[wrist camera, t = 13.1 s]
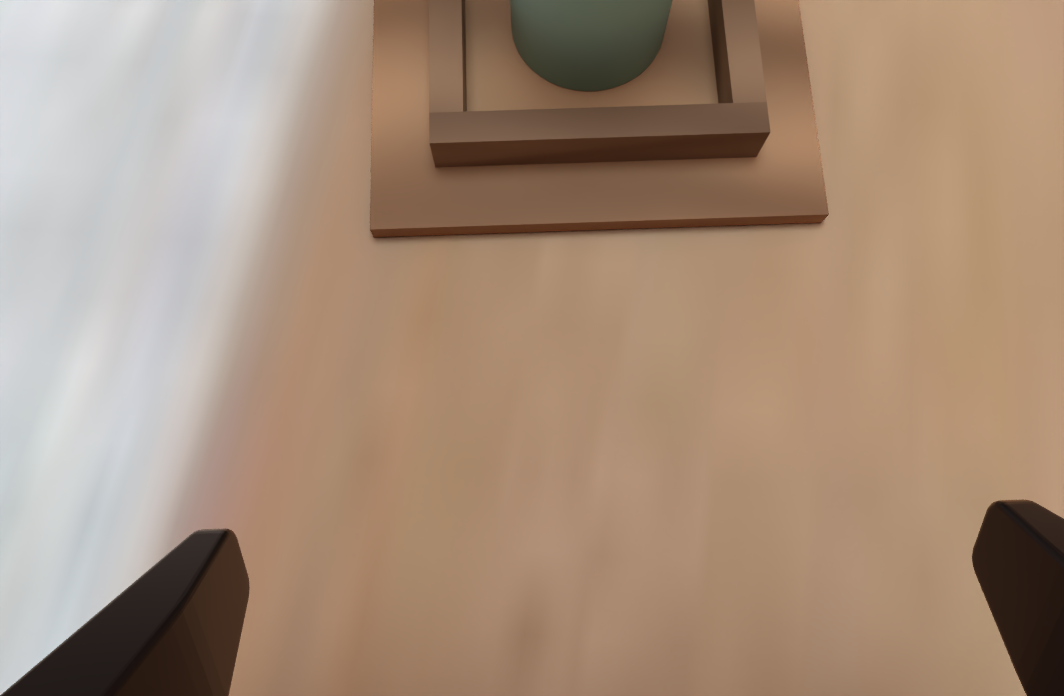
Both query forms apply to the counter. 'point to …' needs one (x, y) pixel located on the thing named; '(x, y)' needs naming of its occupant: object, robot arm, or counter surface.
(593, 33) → the green dome-top cylinder
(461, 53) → the cradle board
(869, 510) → the counter surface
